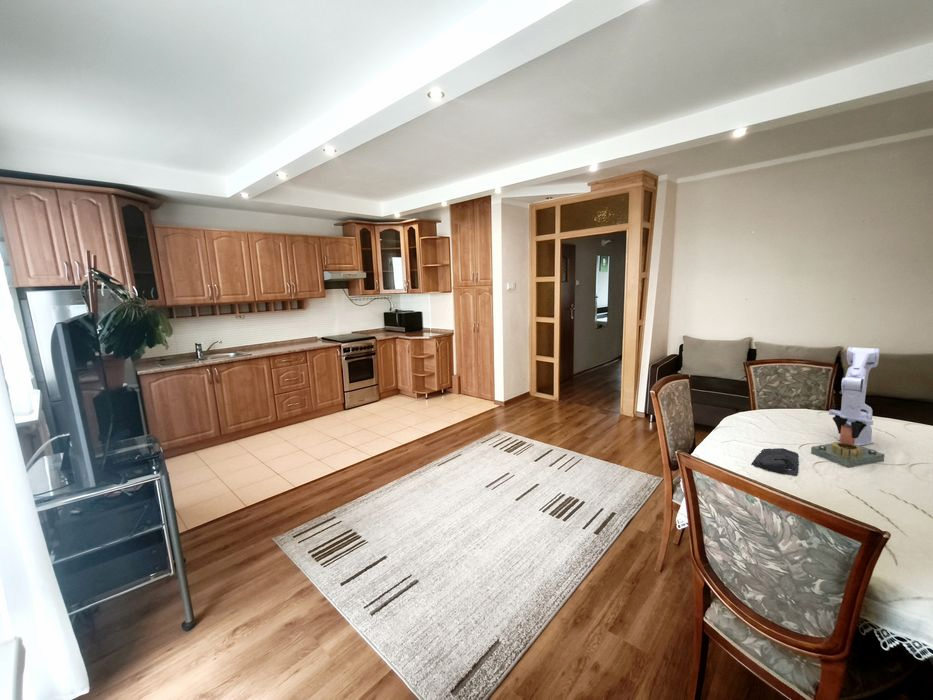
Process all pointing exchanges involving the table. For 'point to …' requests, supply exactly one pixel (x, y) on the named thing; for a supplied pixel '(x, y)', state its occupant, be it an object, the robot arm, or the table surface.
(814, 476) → the table surface
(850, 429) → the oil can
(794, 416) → the table surface
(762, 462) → the dark slate chunk
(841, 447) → the metal plate with ring
